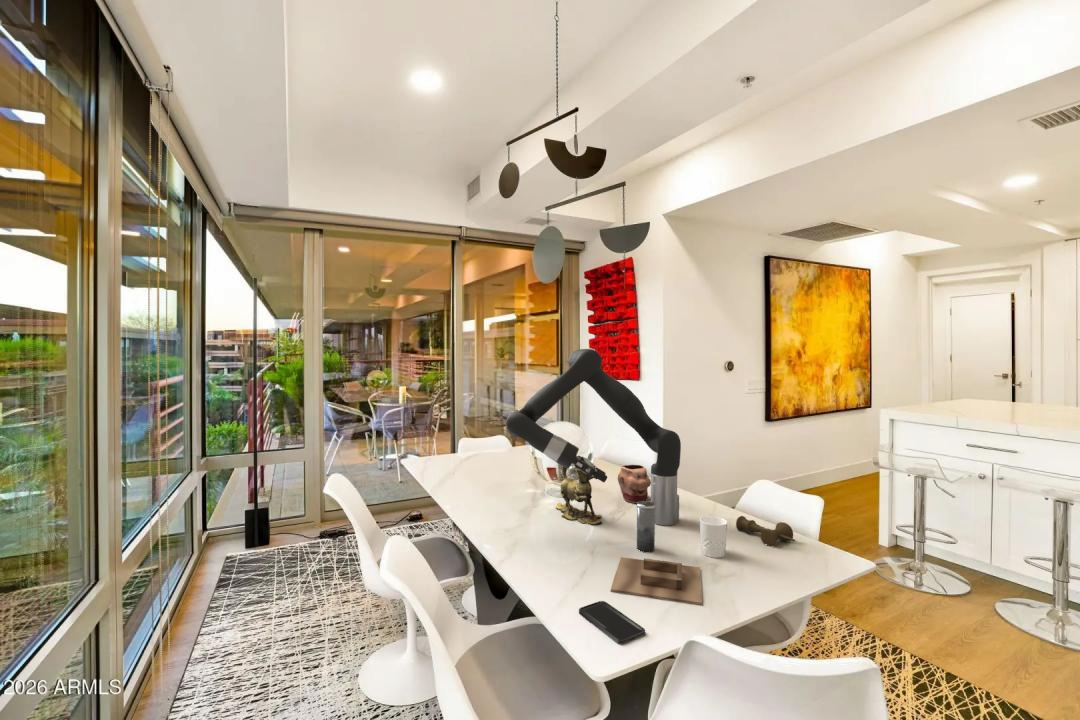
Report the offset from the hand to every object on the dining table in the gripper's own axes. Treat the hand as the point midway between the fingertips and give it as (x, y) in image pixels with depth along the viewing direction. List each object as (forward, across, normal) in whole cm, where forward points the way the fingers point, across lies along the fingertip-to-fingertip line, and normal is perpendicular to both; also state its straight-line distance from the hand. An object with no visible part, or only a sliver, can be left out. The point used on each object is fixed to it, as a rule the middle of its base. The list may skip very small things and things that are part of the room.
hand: (605, 477), depth 151 cm
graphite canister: (+21, 0, +12) cm, 25 cm away
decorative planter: (+20, +51, +6) cm, 55 cm away
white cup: (+39, -2, +3) cm, 39 cm away
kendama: (+56, +12, -8) cm, 58 cm away
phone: (+12, -42, +24) cm, 49 cm away
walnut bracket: (+24, -20, +14) cm, 34 cm away
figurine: (+1, +29, +20) cm, 36 cm away
